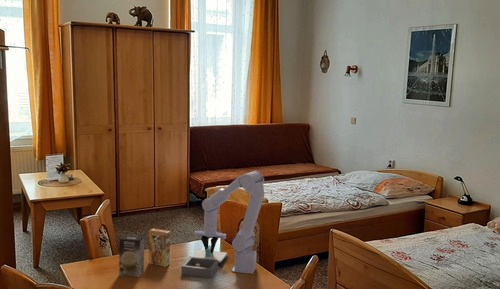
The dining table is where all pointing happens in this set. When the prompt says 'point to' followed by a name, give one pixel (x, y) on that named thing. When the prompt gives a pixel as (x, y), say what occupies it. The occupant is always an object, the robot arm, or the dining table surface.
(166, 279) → the dining table surface
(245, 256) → the robot arm
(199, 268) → the tub
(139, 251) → the coffee box
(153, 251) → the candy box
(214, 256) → the lid
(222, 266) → the mat
